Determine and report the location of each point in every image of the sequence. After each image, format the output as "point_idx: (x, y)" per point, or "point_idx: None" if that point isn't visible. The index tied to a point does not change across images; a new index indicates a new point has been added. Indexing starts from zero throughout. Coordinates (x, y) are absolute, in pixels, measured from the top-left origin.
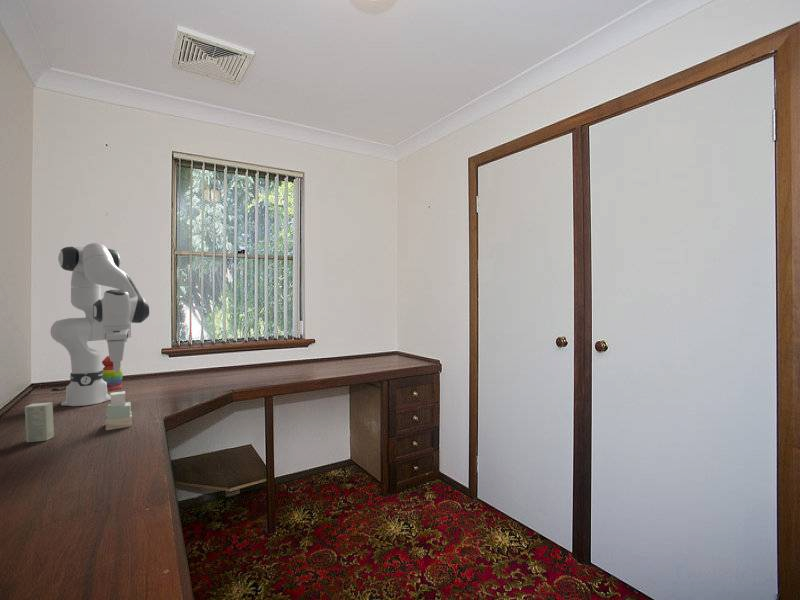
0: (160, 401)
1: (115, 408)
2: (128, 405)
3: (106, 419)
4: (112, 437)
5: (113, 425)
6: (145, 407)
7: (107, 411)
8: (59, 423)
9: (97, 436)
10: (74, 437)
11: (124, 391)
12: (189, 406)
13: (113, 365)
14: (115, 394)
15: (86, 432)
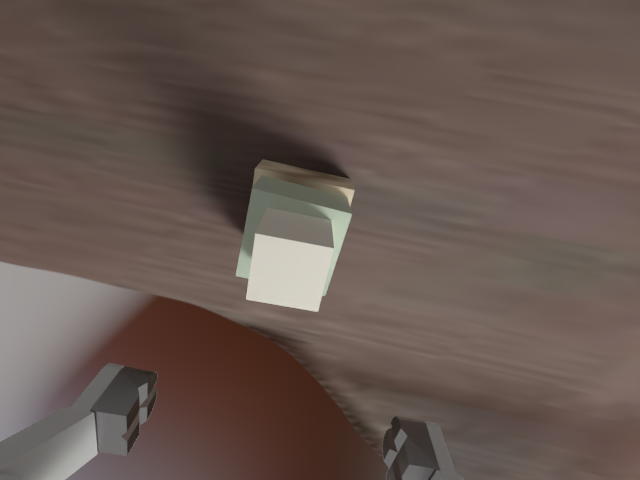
0: (530, 380)
1: (246, 221)
2: (246, 273)
3: (263, 172)
4: (135, 156)
5: None
6: (491, 330)
7: (255, 186)
8: (561, 18)
9: (187, 115)
10: (236, 35)
11: (311, 308)
12: (370, 413)
13: (12, 436)
14: (254, 257)
15: (284, 92)
